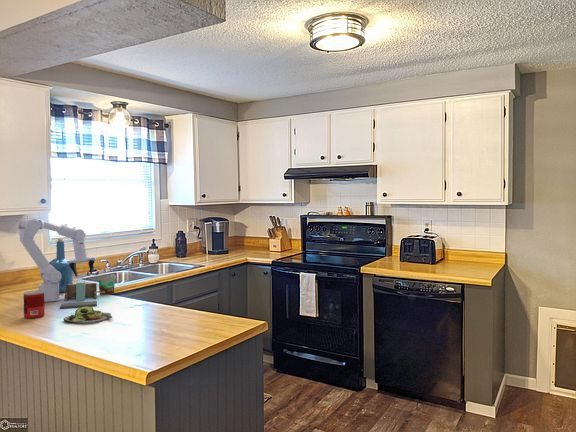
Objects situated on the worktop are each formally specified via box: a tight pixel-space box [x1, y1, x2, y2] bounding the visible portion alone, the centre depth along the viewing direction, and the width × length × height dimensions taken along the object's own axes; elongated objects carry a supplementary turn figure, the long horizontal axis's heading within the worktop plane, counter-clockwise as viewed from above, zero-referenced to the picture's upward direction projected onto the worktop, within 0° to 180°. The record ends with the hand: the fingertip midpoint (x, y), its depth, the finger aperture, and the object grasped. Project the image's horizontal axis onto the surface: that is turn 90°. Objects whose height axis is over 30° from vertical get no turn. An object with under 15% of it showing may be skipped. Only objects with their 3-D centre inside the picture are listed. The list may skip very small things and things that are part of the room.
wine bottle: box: [48, 238, 75, 294], centre depth 262 cm, size 14×13×30 cm
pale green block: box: [75, 280, 87, 301], centre depth 240 cm, size 4×8×9 cm, turn 22°
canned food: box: [23, 289, 45, 320], centre depth 201 cm, size 8×8×11 cm
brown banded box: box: [64, 282, 98, 302], centre depth 241 cm, size 15×9×7 cm, turn 112°
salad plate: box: [63, 306, 113, 325], centre depth 197 cm, size 19×18×5 cm
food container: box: [97, 273, 117, 295], centre depth 256 cm, size 12×6×10 cm, turn 168°
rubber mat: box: [59, 300, 98, 310], centre depth 223 cm, size 16×8×1 cm, turn 112°
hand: (84, 275), depth 251 cm, fingers open, 7 cm apart
